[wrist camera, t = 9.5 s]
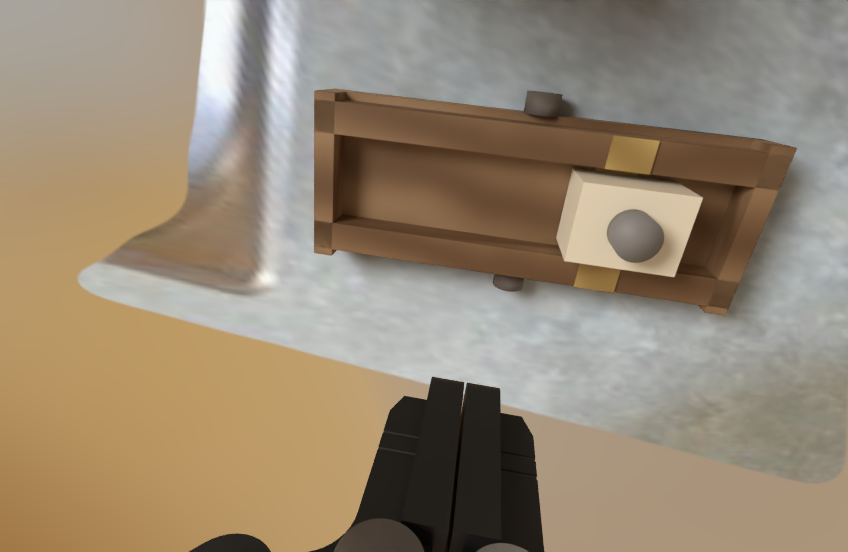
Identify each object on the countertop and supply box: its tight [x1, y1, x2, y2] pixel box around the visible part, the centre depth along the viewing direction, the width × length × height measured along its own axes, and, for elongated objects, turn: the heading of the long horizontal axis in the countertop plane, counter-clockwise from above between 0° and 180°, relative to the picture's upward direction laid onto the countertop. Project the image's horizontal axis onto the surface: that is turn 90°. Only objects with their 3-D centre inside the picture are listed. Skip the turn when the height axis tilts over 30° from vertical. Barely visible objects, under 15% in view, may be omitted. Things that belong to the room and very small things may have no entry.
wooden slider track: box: [314, 89, 797, 316], centre depth 29 cm, size 12×26×4 cm, turn 84°
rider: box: [556, 168, 703, 277], centre depth 26 cm, size 4×6×6 cm
